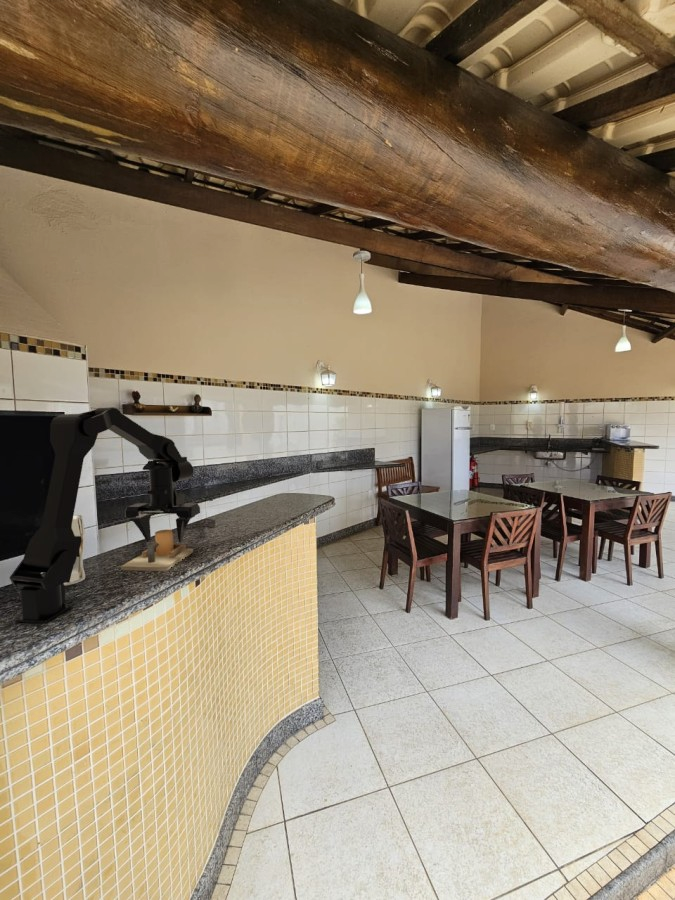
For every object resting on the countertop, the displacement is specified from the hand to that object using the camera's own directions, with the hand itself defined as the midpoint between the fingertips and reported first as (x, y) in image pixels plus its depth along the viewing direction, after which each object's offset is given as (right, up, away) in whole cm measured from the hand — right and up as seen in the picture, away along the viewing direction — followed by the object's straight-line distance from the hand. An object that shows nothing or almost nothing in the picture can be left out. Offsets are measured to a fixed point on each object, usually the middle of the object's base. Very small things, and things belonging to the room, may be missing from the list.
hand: (164, 541), depth 108 cm
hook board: (0, -5, -3) cm, 5 cm away
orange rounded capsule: (0, -3, 0) cm, 3 cm away
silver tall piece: (-16, -6, -15) cm, 22 cm away
